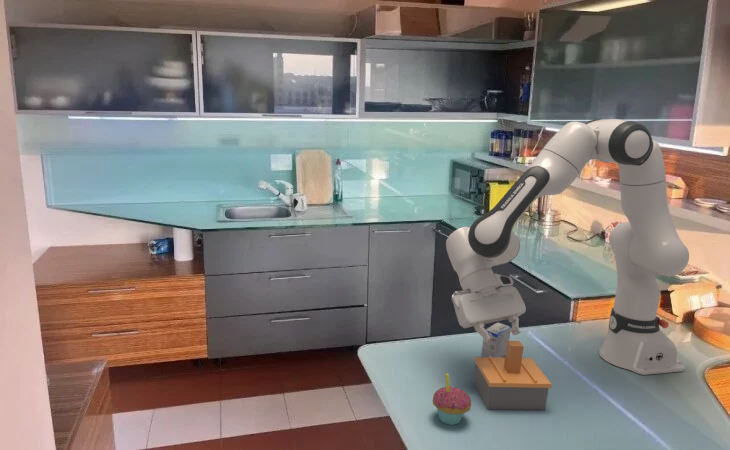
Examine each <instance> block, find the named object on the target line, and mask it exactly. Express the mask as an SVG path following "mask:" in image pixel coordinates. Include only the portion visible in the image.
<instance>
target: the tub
mask: <svg viewBox="0 0 730 450" xmlns="http://www.w3.org/2000/svg"><path fill="white" fill-rule="evenodd" d="M473 379H474V380H473V384H474V386H475V388H476V390H477V392H478V393H479V396H480V398H481V399H482V402H483V403H484V405H485V406H486V409H487V410H524V411H525V410H529V411H530V410H531V411H532V410H534V411H535V410H536V411H539V410H540V411H541V410H543V411H545V410H546V406H547V401H548V395H549V394H548V393H549V388H527V387H489V385H488V383H487V382H486V380H485V378H484V376H483V375H482V373H481V371H480V369H479V368H478V366H477V364H476V363H475V369H474V378H473Z"/></svg>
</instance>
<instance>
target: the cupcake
mask: <svg viewBox="0 0 730 450" xmlns="http://www.w3.org/2000/svg"><path fill="white" fill-rule="evenodd" d="M449 376H450V375H449V373H448V371H447V370H446V371H445V384H446V385H445V386H444V387H440V388H439V389H437V390H436V391H435V392H434V393H433V396H432V405H433V406H434V407H435V408H436V410H437V413H438V414H437V415H438V418H439V420H440V421H441V422H442V423H444V424H447V425H449V426H451V425H452V426H453V425H457V424H459V423H460V422H461V420H462V418H463V416H464V414H466V413H467V412H469V411H471V407H472V401H471V397H470V396H469V394H468V393H467V392H466V391H464V390H463V389H462V388H459V387H454V386H450V377H449Z"/></svg>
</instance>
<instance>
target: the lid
mask: <svg viewBox="0 0 730 450" xmlns="http://www.w3.org/2000/svg"><path fill="white" fill-rule="evenodd" d="M523 354H524V345H523V344H522V342H521V341H520V340H509V341H507V347H506V355H505V356H504V357H502V358H496V357H491V356H489V357H481V356H475V357H474V362H475V365H476V364H477V366H478V368H479V369H480V371H481V373H482V375H483V376H484V378H485V380H486V382H487V383H488V385H489V387H527V388H548V389H551V388H552V385H553V384H552V383H551V381H550V380H549V379H548V377H547V376H546V375H545V374H544V373H543V371H542V370H541V369H540V368H539V365H537V363H536V361H534V360H533V358H532V357H530V358H529V357H523Z"/></svg>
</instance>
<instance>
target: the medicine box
mask: <svg viewBox="0 0 730 450" xmlns="http://www.w3.org/2000/svg"><path fill="white" fill-rule="evenodd" d="M510 329H512V326H509V325H506V324H504V323H500V322H496V323H494V324H492V325H491V326H489V327H487V328H485V330H486V331H487V332H488V333H490V332H491V334H492V337H493V340H491V341H489V342H485V341H484V339H483V338H482V339H483V340H482V346H481V354H480V357H489V356H491V357H496V358H504V357H505V355H506V347H507V341H510V338H511V337H510V336H511V331H510Z"/></svg>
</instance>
